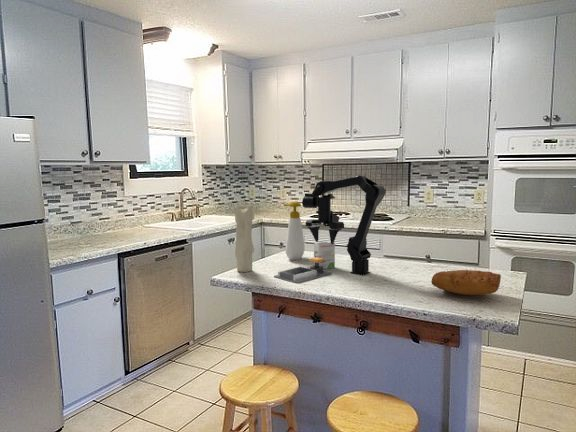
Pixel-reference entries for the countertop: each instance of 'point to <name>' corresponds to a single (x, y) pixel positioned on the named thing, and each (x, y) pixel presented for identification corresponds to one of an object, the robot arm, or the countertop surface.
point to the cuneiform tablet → (467, 282)
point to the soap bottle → (294, 234)
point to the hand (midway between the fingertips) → (324, 242)
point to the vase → (244, 237)
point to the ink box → (325, 254)
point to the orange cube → (316, 260)
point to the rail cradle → (302, 274)
